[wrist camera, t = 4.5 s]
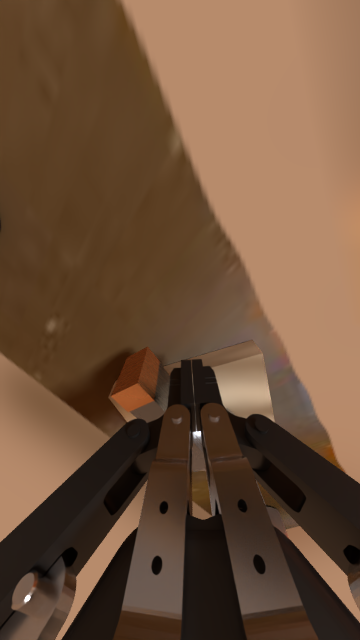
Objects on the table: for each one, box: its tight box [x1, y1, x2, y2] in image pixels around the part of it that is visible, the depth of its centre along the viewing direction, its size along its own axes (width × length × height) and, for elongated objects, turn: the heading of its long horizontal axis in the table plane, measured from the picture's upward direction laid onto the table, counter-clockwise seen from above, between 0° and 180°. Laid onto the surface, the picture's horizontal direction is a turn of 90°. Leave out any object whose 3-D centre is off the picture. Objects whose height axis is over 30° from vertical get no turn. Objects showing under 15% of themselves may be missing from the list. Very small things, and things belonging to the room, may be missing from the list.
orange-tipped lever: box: [111, 347, 235, 472], centre depth 14 cm, size 15×7×4 cm, turn 30°
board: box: [108, 340, 275, 422], centre depth 18 cm, size 14×14×2 cm
